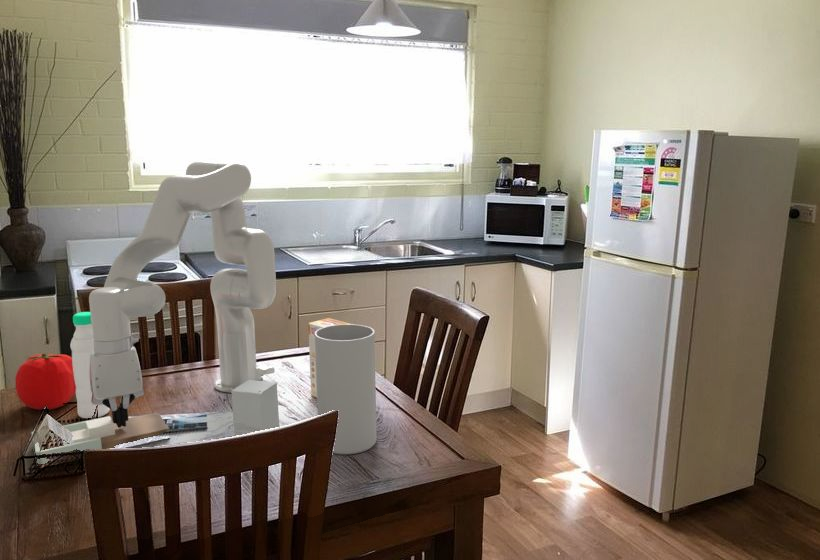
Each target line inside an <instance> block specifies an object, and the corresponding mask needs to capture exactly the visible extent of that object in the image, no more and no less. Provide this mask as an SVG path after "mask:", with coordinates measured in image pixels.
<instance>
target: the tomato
mask: <svg viewBox="0 0 820 560" xmlns="http://www.w3.org/2000/svg"><path fill="white" fill-rule="evenodd" d="M14 380H15V391H16V394H17V396H18V398H19V400H20V401H21V403H22V404H23V405H24V406H26V407H28V408H30V409H34V410H38V411H39V410H42V409H43V408H44V407H46V406H48V409H49V410H54V409H57V408H60V407H62V406H64V405H65V404H63V403H66V404H67V403H68V402H69V401H70V400H71V398H72V397H73V396H74V395H76V385H75V380H74V373H73V364H72V356H70V355H67V354H60V353H59V354H58V353H56V354H50V353H48V352H46V353H41V354H33V355H31V356H28V357H27V359H26V361H24V362H23V363H22V364H21V365H20V366H19V367H18V370H17V372H16V376H15V379H14Z"/></svg>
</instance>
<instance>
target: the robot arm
mask: <svg viewBox="0 0 820 560" xmlns="http://www.w3.org/2000/svg"><path fill="white" fill-rule="evenodd" d="M251 182H252V176H251V172H250V170H249V168H248V167H247V166H246V165H245V164H244V163H242V162H240V161H236V160H234V161H233V160H198V161H194V162H191V163H190V164H188V166H187V167H186V170H185V175H181V174H180V175H179V174H178V175H170V176H167V177H166V178H164V179H163V180H162V181H161V182H160V184H159V187H158V189H157V193H156V194H155V198H154V200H153V202H152V205H151V208H150V210H149V213H148V216H147V218H146V221H145V222H144V226H143V227H142V230H141V232H140V234H139V235H138V236H136V237H135V238H134V239H132V241H130V243H128V244H127V245H126V247H125V248H124V249H123V250H121V252H120V253H119V254H118V256H117V257H115V259H114V261H113V262H112V264H111V267H110V269H109V272H108V274H107V277H106V279H105V281H104V285H103V287H100V288H96V289H93V290H92V291H91V292H90V293H89V296H88V303H89V305H88V306H89V312H90V314H91V323H92V332H93V343H94V352H91V354H90V387H91V392H92V399H91V402H92V404H93V405H105V406H107V407H108V408H110V410H111V419H112V421H113V423H116V425H117V426H118V428H120V427H121V426H123V427H124V426H126V421H128V418H129V414H128V413H129V412H128V411H129V410H128V409H129V407H130V405H131V403H133V401H134V400H135V399H137V398H140V397H142V396H144V395H145V391H144V387H143V386H144V383H143V376H142V370H141V365H140V361H139V357H138V353H137V349H136V347H135V346H134V344H136V343H139V341H140V340H139V336H138V335H137V336H136V335H132V332H131V321H130V320H131V319H133V318H134V319H135V318H142V317H149V316H153V315H156V314H158V312H160V311H161V310H162V309H163V307H164V306H165V304H166V293H165V291H164V289H162V287H161V286H160V285H158V284H156V283H154V282H148V281H143V280H137V279H138V276H139V275H140V273H141V272H142V270H143V269H144V268H145V267H146V266H147V265H148V264H149V263H151V262H152V261H153V260H154V259H157V258H159V257H162V256H163V255H166V254H168V253H170V252H172V251H174V250H176V249H178V247H179V246H180V245H181V241H182V238H183V235H184V232H185V229H186V227H187V224H188V222H189V220H190V217H191V214H193V213H195V214H198V213H199V214H208V213H210V217H211V218H210V219H211V229H212V230H211V232H212V242H213V244H212V245H213V246H212V247H213V252H214V253H213V254H214V257H215V258H216V260H217V261H219V262H220V263H222V264H227V265H235V266H244V267H245V268H246V269H240V268H229V267H228V268H222V269H221V270H218V271H217V272H215V274H214V275H213V276H212V277H211V280H210V286H209V287H210V288H209V289H210V295H211V299H212V303H213V306H214V310H215V315H216V316H215V317H216V328H217V330H216V331H217V346H218V347H217V348H218V359H219V360H218V361H219V362H218V363H219V374H220V375H219V376H220V377H219V378H217V379H216V380H215V381H214V388H215V389H216V390H217V391H220V392H224V393H231V391H232V390H233V389H235V388H236V387H238V386H240V385H241V384H243V383H244V382H246V381H248V380H256V381H264V378H263V377H264V376H265V375H272V374H274V373H275V367H274V366H268V367H267V365H261V366H259V365H257V355H256V354H257V352H256V337H255V336H256V331H255V319H254V315H253V312H252V310H251V309H259V310H262V309H266V308H268V307H269V306H271V305H272V304H273V302H274V300H275V297H276V292H277V277H276V276H277V275H276V257H275V256H276V255H275V253H276V252H275V246H274V242H273V241H272V240H273V239H272V238H271V236H270V235H269V234H268V233H267V232H266V231H264V230H262V229H258V228H249V227H248V225H247V218H246V209H245V205H244V202H243V200H242V197H243V196H244V195H245V194H246V193H247V192H248V191H249V189H250V186H251ZM118 397H120V403H119V406H118V404H117V402H116V401H117V400H116V398H118Z"/></svg>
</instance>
